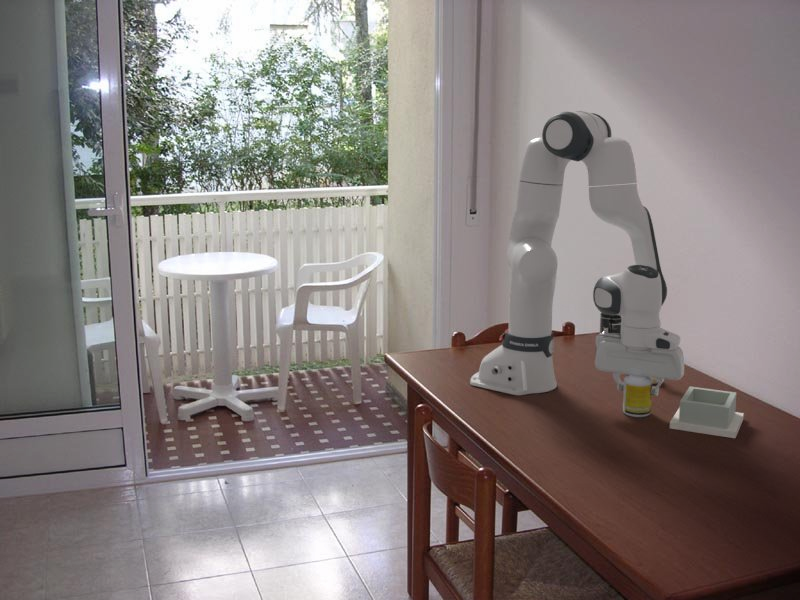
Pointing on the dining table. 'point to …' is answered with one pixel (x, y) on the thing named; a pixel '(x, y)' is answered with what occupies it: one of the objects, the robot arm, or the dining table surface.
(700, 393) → the well block
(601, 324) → the beverage can
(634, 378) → the pill bottle
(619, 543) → the dining table surface
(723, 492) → the dining table surface
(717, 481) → the dining table surface
